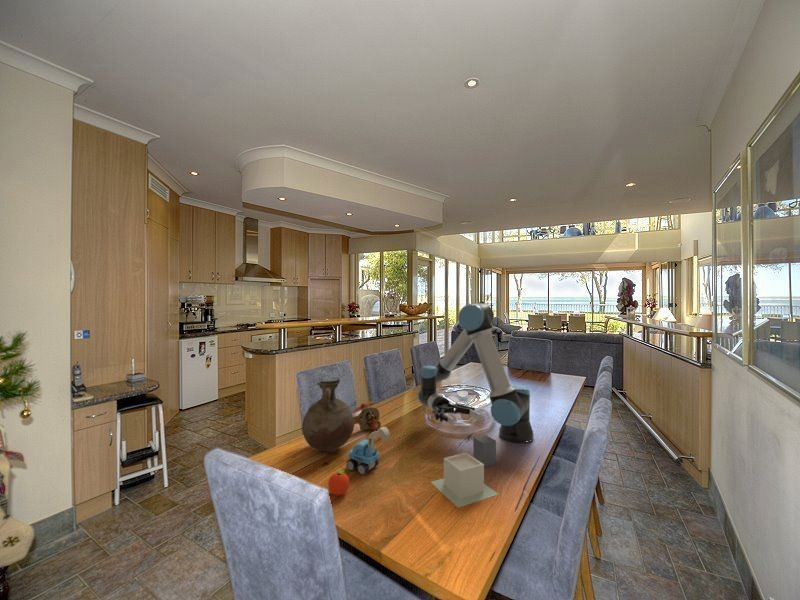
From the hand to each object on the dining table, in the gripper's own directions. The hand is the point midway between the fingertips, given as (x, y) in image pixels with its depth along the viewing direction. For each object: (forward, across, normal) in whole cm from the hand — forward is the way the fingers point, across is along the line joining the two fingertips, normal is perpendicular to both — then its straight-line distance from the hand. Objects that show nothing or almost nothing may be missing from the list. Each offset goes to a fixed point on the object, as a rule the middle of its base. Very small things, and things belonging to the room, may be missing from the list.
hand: (466, 419), depth 142 cm
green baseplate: (+22, +18, -14) cm, 31 cm away
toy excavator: (-5, +41, -15) cm, 44 cm away
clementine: (+5, +55, -15) cm, 57 cm away
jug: (-29, +50, -16) cm, 60 cm away
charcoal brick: (+11, -1, -14) cm, 18 cm away
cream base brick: (+22, +18, -13) cm, 31 cm away
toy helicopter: (-42, +31, -16) cm, 54 cm away
